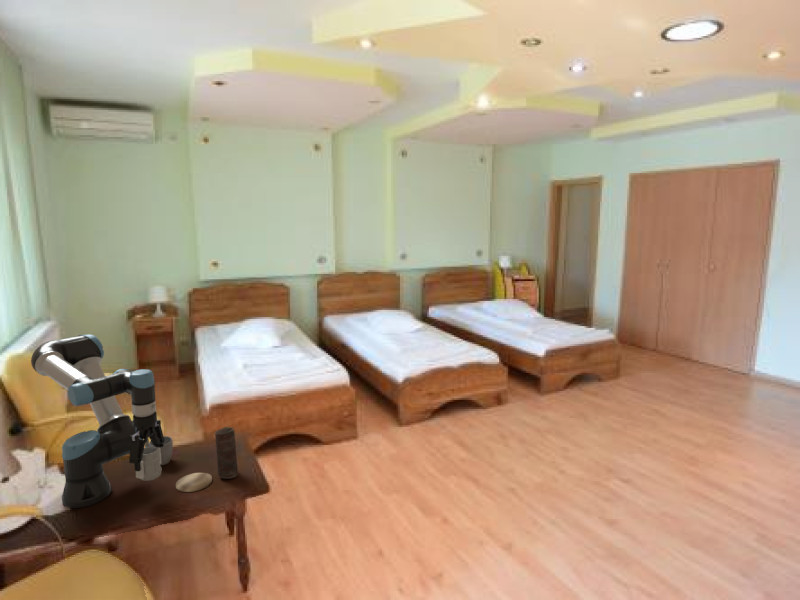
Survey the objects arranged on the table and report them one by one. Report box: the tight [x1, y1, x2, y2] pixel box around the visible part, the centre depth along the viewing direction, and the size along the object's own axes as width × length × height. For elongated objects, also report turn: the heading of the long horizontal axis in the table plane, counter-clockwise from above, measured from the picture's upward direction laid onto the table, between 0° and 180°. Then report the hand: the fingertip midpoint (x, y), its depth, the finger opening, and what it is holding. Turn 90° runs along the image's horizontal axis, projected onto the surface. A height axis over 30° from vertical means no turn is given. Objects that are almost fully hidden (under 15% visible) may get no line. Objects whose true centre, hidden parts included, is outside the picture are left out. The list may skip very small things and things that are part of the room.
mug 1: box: [140, 438, 163, 482], centre depth 175 cm, size 8×12×12 cm, turn 31°
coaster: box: [175, 472, 213, 493], centre depth 186 cm, size 13×13×1 cm
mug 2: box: [149, 435, 174, 466], centre depth 202 cm, size 12×9×10 cm
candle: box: [214, 426, 239, 479], centre depth 189 cm, size 8×7×20 cm
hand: (149, 470), depth 175 cm, fingers closed on mug 1, 9 cm apart
